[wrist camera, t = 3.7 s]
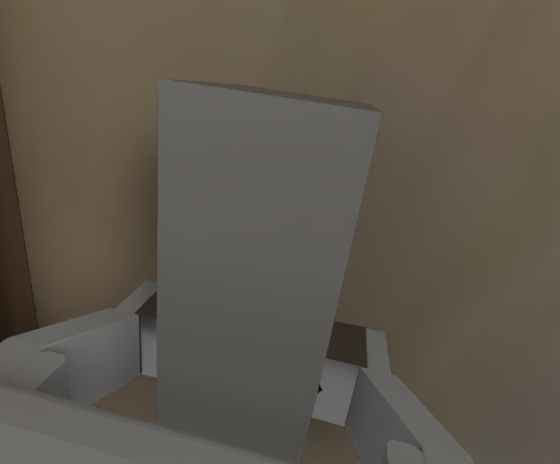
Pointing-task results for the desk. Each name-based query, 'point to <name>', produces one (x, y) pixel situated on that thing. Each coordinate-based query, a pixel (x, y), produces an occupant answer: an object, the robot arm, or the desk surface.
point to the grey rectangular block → (252, 254)
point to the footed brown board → (12, 252)
